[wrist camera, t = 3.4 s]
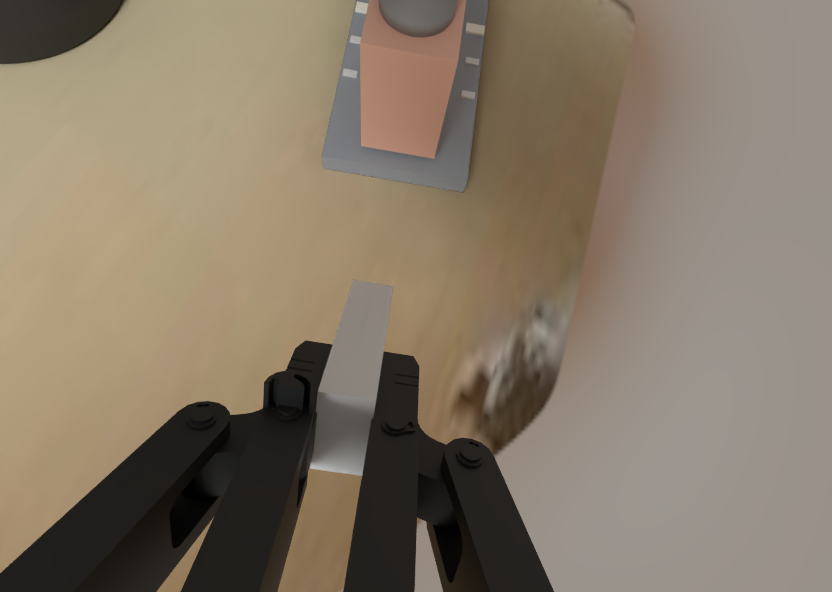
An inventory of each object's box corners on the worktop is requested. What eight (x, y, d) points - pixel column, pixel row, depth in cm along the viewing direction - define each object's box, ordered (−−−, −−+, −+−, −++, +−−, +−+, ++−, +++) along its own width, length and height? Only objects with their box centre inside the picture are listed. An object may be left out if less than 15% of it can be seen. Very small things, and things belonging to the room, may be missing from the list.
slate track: (463, 192, 36) (488, 128, 29) (323, 168, 35) (313, 97, 28) (490, -34, 42) (516, -132, 35) (372, -57, 42) (374, -161, 34)
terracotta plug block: (434, 158, 34) (461, 46, 24) (361, 145, 34) (359, 26, 24) (444, 86, 36) (473, -45, 26) (375, 73, 35) (379, -64, 26)
